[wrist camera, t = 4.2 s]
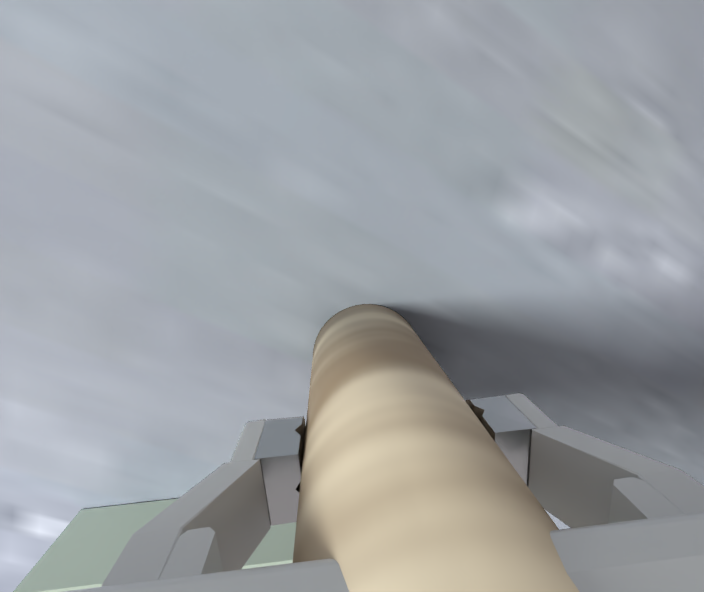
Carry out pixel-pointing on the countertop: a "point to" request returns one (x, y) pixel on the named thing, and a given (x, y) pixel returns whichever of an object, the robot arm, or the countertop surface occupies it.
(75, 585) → the socket
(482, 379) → the countertop surface
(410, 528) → the peg
